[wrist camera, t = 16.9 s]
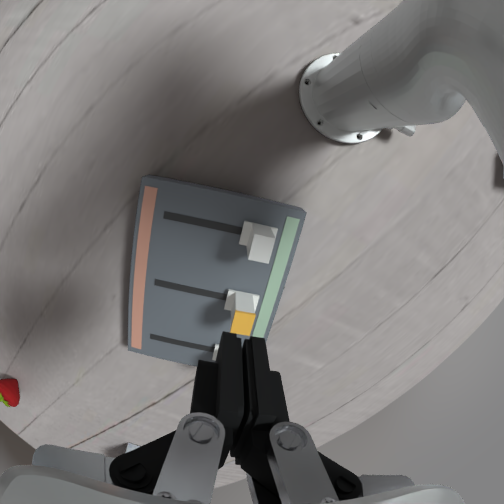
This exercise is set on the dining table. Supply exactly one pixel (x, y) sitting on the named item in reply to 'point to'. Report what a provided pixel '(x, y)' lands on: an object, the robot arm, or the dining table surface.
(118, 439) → the dining table surface
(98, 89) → the dining table surface
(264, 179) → the dining table surface
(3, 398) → the strawberry
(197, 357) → the breaker panel
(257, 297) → the block
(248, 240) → the block
